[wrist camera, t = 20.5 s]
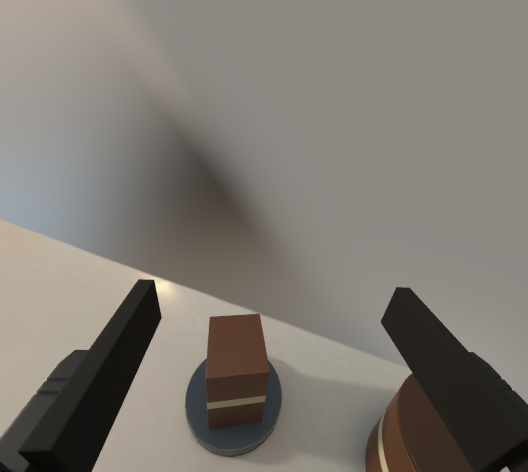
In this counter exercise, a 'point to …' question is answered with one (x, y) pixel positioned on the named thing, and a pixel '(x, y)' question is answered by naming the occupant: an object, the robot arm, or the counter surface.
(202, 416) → the plate
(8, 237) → the counter surface
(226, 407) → the cake slice
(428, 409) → the cake
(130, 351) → the robot arm
